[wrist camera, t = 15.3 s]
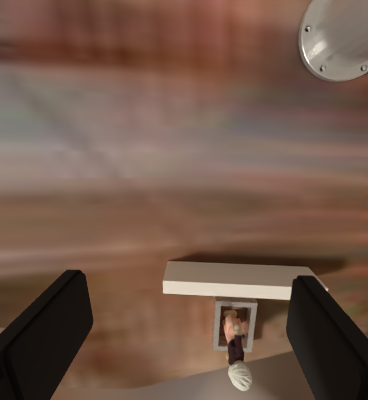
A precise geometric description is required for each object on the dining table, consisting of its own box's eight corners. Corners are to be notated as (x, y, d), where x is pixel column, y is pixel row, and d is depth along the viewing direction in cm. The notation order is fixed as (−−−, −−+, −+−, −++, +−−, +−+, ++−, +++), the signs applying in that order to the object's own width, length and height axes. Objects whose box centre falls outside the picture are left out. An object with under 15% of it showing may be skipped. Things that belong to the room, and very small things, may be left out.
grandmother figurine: (239, 331, 43) (256, 406, 30) (220, 331, 43) (229, 405, 31) (239, 300, 41) (258, 367, 29) (220, 300, 41) (230, 366, 29)
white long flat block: (308, 266, 38) (327, 288, 32) (305, 278, 39) (325, 301, 33) (167, 260, 39) (162, 280, 34) (168, 271, 40) (163, 293, 34)
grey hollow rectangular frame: (253, 293, 40) (257, 303, 38) (248, 340, 43) (251, 352, 41) (214, 291, 41) (215, 301, 38) (211, 338, 44) (212, 349, 41)
